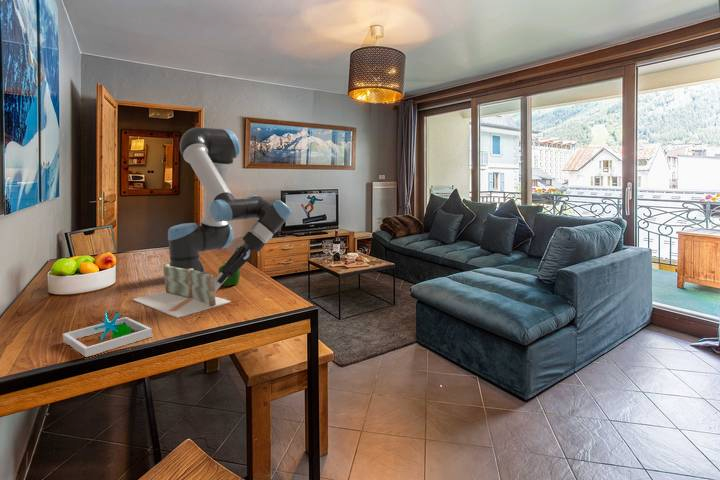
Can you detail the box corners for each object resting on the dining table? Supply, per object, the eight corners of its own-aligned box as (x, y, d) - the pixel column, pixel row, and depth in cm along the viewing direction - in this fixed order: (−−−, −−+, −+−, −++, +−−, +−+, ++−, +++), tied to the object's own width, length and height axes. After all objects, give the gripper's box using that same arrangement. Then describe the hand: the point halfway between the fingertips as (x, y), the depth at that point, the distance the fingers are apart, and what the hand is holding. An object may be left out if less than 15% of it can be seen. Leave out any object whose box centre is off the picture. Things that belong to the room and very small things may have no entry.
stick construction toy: (86, 332, 103) (104, 306, 106) (105, 337, 109) (122, 312, 112) (117, 350, 100) (136, 323, 102) (135, 355, 106) (152, 328, 108)
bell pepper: (236, 281, 163) (235, 257, 161) (243, 285, 156) (242, 261, 154) (216, 284, 158) (214, 260, 156) (222, 288, 151) (220, 263, 150)
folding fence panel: (191, 297, 137) (189, 270, 135) (197, 296, 138) (194, 269, 137) (211, 306, 128) (209, 276, 126) (216, 304, 129) (214, 275, 128)
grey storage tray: (63, 342, 102) (62, 333, 101) (127, 324, 114) (126, 316, 114) (86, 358, 92) (84, 348, 92) (152, 337, 105) (151, 328, 104)
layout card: (132, 300, 138) (132, 298, 138) (183, 287, 153) (183, 286, 153) (177, 318, 119) (177, 316, 119) (230, 302, 134) (230, 300, 134)
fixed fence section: (197, 297, 139) (194, 268, 137) (191, 298, 137) (189, 270, 136) (169, 290, 148) (167, 263, 146) (164, 292, 146) (161, 264, 144)
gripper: (270, 246, 134) (223, 300, 129) (260, 241, 145) (217, 290, 140) (253, 232, 131) (205, 287, 125) (245, 228, 142) (200, 278, 137)
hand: (211, 289), depth 133 cm, fingers closed
